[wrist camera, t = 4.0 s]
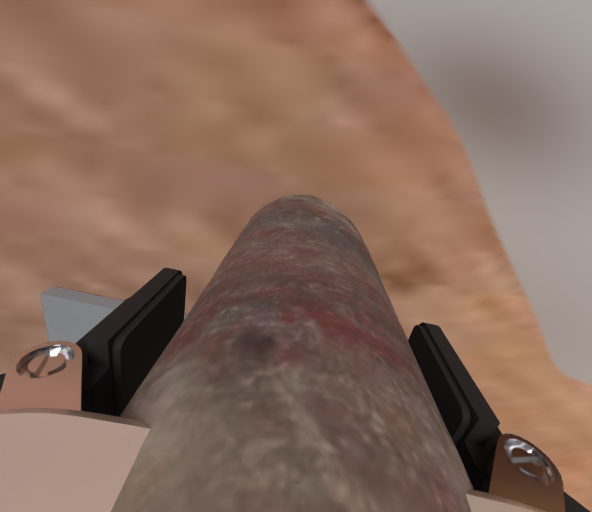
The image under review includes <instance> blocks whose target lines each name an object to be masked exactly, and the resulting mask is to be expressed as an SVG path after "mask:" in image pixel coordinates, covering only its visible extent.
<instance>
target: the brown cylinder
mask: <svg viewBox="0 0 592 512" xmlns="http://www.w3.org/2000/svg"><path fill="white" fill-rule="evenodd" d="M120 417H123V418H128V419H134V420H137V421H139V422H141V423H143V424H145V425H146V426H148V427H149V428H150V429H151V430H150V431H149V433H148V435H147V437H146V438H145V440H144V442H143V444H142V446H141V448H140V450H139V453H138V455H137V457H136V459H135V461H134V463H133V466H132V468H131V470H130V472H129V474H128V476H127V478H126V481H125V483H124V485H123V487H122V489H121V491H120V493H119V495H118V497H117V500H116V502H115V504H114V506H113V508H112V510H111V512H471V509H470V506H469V503H468V500H467V497H466V492H468V491H470V490H471V489H473V486H472V484H471V482H470V479H469V477H468V475H467V472H466V470H465V468H464V465H463V463H462V461H461V458H460V456H459V453H458V451H457V449H456V447H455V445H454V443H453V441H452V438H451V436H450V434H449V432H448V430H447V428H446V426H445V424H444V421H443V419H442V417H441V415H440V412H439V410H438V408H437V406H436V403H435V401H434V399H433V397H432V394H431V392H430V390H429V388H428V385H427V383H426V381H425V379H424V376H423V374H422V372H421V370H420V367H419V365H418V363H417V360H416V358H415V356H414V354H413V351H412V349H411V347H410V345H409V342H408V340H407V337H406V335H405V333H404V331H403V329H402V327H401V325H400V322H399V320H398V318H397V315H396V313H395V311H394V308H393V306H392V304H391V301H390V299H389V297H388V295H387V293H386V291H385V289H384V286H383V284H382V282H381V279H380V277H379V274H378V272H377V269H376V267H375V265H374V263H373V260H372V258H371V256H370V253H369V251H368V249H367V247H366V245H365V244H364V241H363V239H362V237H361V235H360V234H359V232H358V230H357V229H356V227H355V226H354V224H353V223H352V222H351V220H350V219H349V218H348V217H347V216H346V215H345V214H344V213H343V212H341V211H340V210H338V209H337V208H336V207H334V206H332V205H330V204H328V203H326V202H325V201H323V200H321V199H319V198H316V197H313V196H305V195H293V196H288V197H284V198H281V199H278V200H276V201H274V202H272V203H269V204H267V205H266V206H264V207H263V208H261V209H260V210H259V211H258V212H257V213H256V214H255V215H254V216H253V217H252V218H251V219H250V221H249V222H248V224H247V226H246V227H245V228H244V229H243V231H242V232H241V234H240V236H239V237H238V239H237V240H236V241H235V243H234V244H233V246H232V247H231V249H230V250H229V252H228V253H227V255H226V256H225V258H224V259H223V261H222V262H221V264H220V266H219V268H218V269H217V271H216V273H215V274H214V276H213V277H212V279H211V281H210V282H209V284H208V285H207V286H206V288H205V289H204V291H203V292H202V294H201V295H200V297H199V299H198V300H197V302H196V303H195V305H194V306H193V308H192V309H191V311H190V312H189V314H188V315H187V317H186V318H185V320H184V321H183V323H182V324H181V326H180V327H179V329H178V330H177V332H176V334H175V335H174V337H173V338H172V340H171V341H170V342H169V344H168V345H167V347H166V348H165V350H164V351H163V353H162V354H161V356H160V357H159V359H158V360H157V362H156V363H155V364H154V366H153V367H152V369H151V370H150V372H149V373H148V375H147V376H146V378H145V379H144V381H143V382H142V384H141V385H140V387H139V388H138V390H137V391H136V393H135V394H134V396H133V397H132V399H131V400H130V402H129V403H128V405H127V406H126V408H125V409H124V411H123V412H122V414H121V415H120ZM473 490H474V489H473Z"/></svg>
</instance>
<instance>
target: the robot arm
mask: <svg viewBox="0 0 592 512" xmlns="http://www.w3.org/2000/svg"><path fill="white" fill-rule="evenodd" d="M185 294H186V276H184V275H182V272H181V271H179V270H175V269H170V268H164V269H162V270H161V271H160V272H159V273H158V274H157V275H156V276H154V277H153V278H152V279H151V280H150V281H149V282H148V283H146V284H145V285H144V286H143V287H142V288H141V289H140V290H138V291H137V292H136V293H135V294H134V295H133V296H132V297H129V298H128V299H126V300H125V301H124V302H123V303H121V304H120V305H119V306H118V307H117V308H116V309H114V310H113V311H112V312H111V313H110V314H109V315H108V316H106V317H105V318H104V319H103V320H102V321H101V322H99V323H98V324H97V325H96V326H95V327H94V328H92V329H91V330H90V331H89V332H88V333H87V334H86V335H84V336H83V337H82V338H81V339H80V340H79V341H77V342H76V343H75V344H74V343H72V342H68V341H53V342H47V343H43V344H39V345H36V346H34V347H31V348H29V349H27V350H25V351H23V352H22V353H20V354H19V355H17V356H16V357H15V358H14V359H13V360H12V361H11V363H10V364H9V366H8V368H7V371H6V373H5V374H1V375H0V512H111V510H112V508H113V506H114V504H115V502H116V500H117V497H118V495H119V493H120V491H121V489H122V487H123V485H124V483H125V481H126V478H127V476H128V474H129V472H130V470H131V468H132V466H133V463H134V461H135V459H136V457H137V455H138V453H139V450H140V448H141V446H142V444H143V442H144V440H145V438H146V437H147V435H148V433H149V431H150V430H151V429H150V428H149V427H148V426H146V425H145V424H143V423H141V422H139V421H137V420H134V419H128V418H123V417H120V415H121V414H122V412H123V411H124V409H125V408H126V406H127V405H128V403H129V402H130V400H131V399H132V397H133V396H134V394H135V393H136V391H137V390H138V388H139V387H140V385H141V384H142V382H143V381H144V379H145V378H146V376H147V375H148V373H149V372H150V370H151V369H152V367H153V366H154V364H155V363H156V362H157V360H158V359H159V357H160V356H161V354H162V353H163V351H164V350H165V348H166V347H167V345H168V344H169V342H170V341H171V340H172V338H173V337H174V335H175V334H176V332H177V330H178V329H179V327H180V326H181V324H182V323H183V321H184V311H185ZM408 342H409V345H410V347H411V349H412V351H413V354H414V356H415V358H416V360H417V363H418V365H419V367H420V370H421V372H422V374H423V376H424V379H425V381H426V383H427V385H428V388H429V390H430V392H431V394H432V397H433V399H434V401H435V403H436V406H437V408H438V410H439V412H440V415H441V417H442V419H443V421H444V424H445V426H446V428H447V430H448V432H449V434H450V436H451V438H452V441H453V443H454V445H455V447H456V449H457V451H458V453H459V456H460V458H461V461H462V463H463V465H464V468H465V470H466V472H467V475H468V477H469V479H470V482H471V484H472V486H473V489H474V490H473V489H471V490H470V491H468V492H466V497H467V500H468V503H469V506H470V509H471V512H590V511H589V510H587V509H586V508H585V507H583V506H582V505H581V504H579V503H578V502H577V501H576V500H574V499H573V498H572V497H570V496H569V495H568V494H566V493H565V492H564V488H563V481H562V477H561V474H560V472H559V471H558V469H557V467H556V466H555V464H554V463H553V462H552V461H551V460H550V458H549V457H548V456H547V455H546V454H545V453H543V452H542V451H541V450H540V449H539V448H538V447H536V446H535V445H534V444H532V443H531V442H529V441H527V440H526V439H524V438H522V437H520V436H517V435H514V434H507V433H505V434H502V433H501V432H500V430H499V428H498V426H499V424H500V422H499V420H498V419H497V417H496V416H495V414H494V413H493V411H492V409H491V408H490V406H489V405H488V403H487V401H486V400H485V398H484V397H483V395H482V393H481V392H480V390H479V389H478V387H477V386H476V384H475V382H474V381H473V379H472V378H471V376H470V374H469V373H468V371H467V370H466V368H465V367H464V365H463V363H462V362H461V360H460V359H459V357H458V355H457V354H456V352H455V351H454V349H453V347H452V346H451V344H450V343H449V341H448V340H447V338H446V336H445V335H444V333H443V332H442V330H441V328H440V327H439V326H437V325H433V324H428V323H421V324H419V325H416V326H415V327H414V328H413V331H412V333H411V335H410V337H409V340H408Z"/></svg>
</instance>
